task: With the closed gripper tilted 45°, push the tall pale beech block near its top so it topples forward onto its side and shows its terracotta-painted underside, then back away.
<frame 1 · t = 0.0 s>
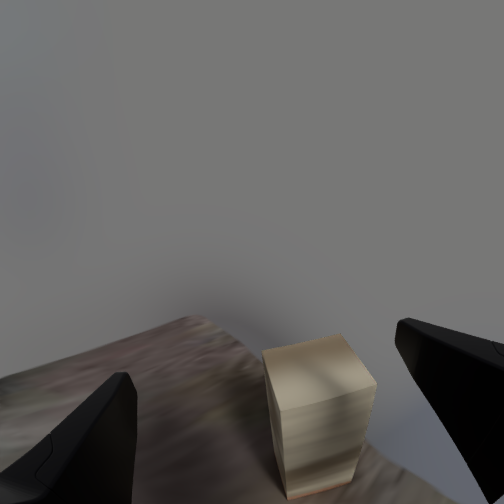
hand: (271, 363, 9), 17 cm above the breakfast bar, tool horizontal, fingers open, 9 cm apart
beech block: (311, 468, 19), on the breakfast bar
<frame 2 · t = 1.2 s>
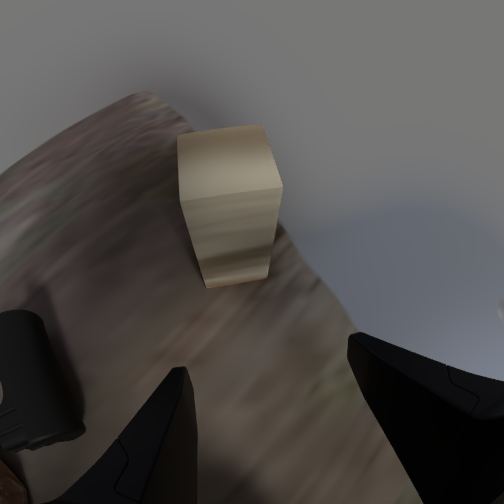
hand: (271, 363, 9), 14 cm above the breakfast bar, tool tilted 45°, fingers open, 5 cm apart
decorative rock: (1, 481, 13), on the breakfast bar
beech block: (232, 256, 26), on the breakfast bar
end cap: (51, 389, 19), on the breakfast bar
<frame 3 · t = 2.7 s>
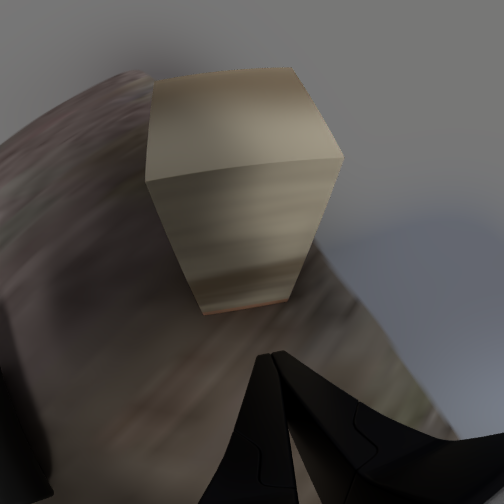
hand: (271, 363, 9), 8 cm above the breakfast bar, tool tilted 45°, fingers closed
beech block: (238, 270, 18), on the breakfast bar
end cap: (14, 433, 12), on the breakfast bar
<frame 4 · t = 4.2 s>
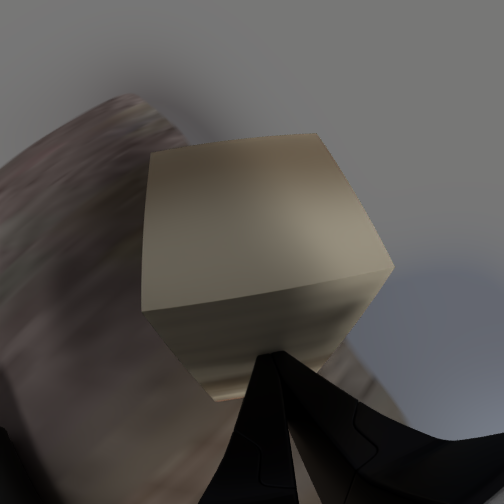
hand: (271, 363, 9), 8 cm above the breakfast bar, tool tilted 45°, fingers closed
beech block: (252, 352, 16), on the breakfast bar, tilted 9°
end cap: (31, 496, 10), on the breakfast bar
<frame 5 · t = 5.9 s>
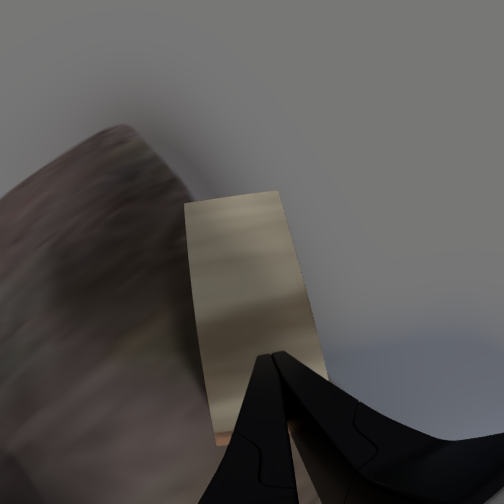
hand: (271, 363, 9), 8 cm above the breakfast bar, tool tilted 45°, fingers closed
beech block: (272, 429, 12), point 2 cm above the breakfast bar, tilted 90°
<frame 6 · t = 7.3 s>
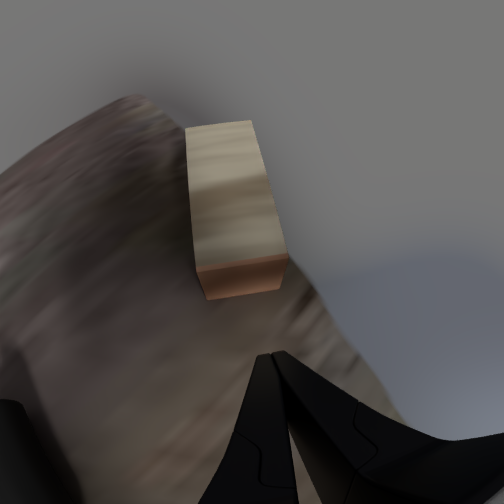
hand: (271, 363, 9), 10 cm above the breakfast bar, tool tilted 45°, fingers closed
beech block: (243, 281, 18), point 2 cm above the breakfast bar, tilted 90°
end cap: (43, 470, 13), on the breakfast bar
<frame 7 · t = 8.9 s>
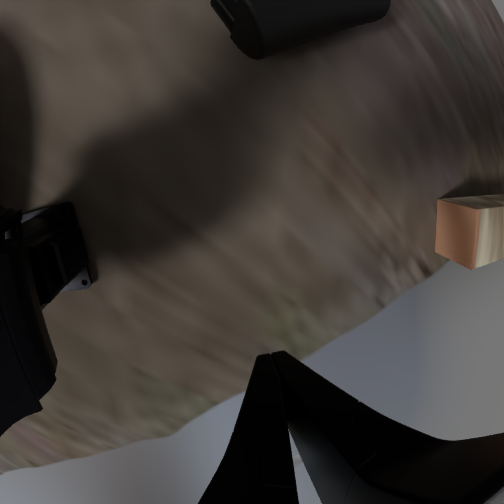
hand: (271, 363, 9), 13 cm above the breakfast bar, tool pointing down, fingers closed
beech block: (454, 232, 21), point 2 cm above the breakfast bar, tilted 90°
end cap: (284, 15, 17), on the breakfast bar
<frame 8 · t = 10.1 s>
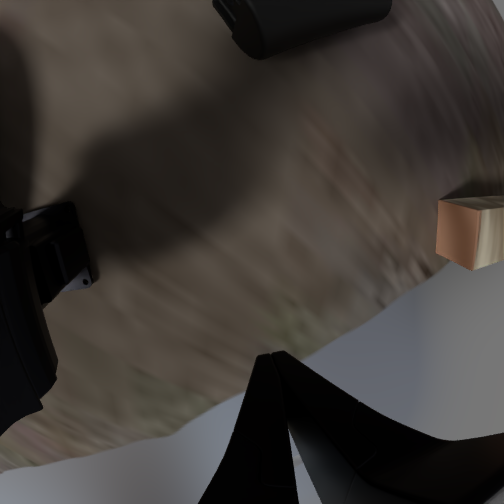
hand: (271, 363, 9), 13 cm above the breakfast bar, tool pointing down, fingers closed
beech block: (455, 233, 21), point 2 cm above the breakfast bar, tilted 90°
end cap: (286, 15, 17), on the breakfast bar
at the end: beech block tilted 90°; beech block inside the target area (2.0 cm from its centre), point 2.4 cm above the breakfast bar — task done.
